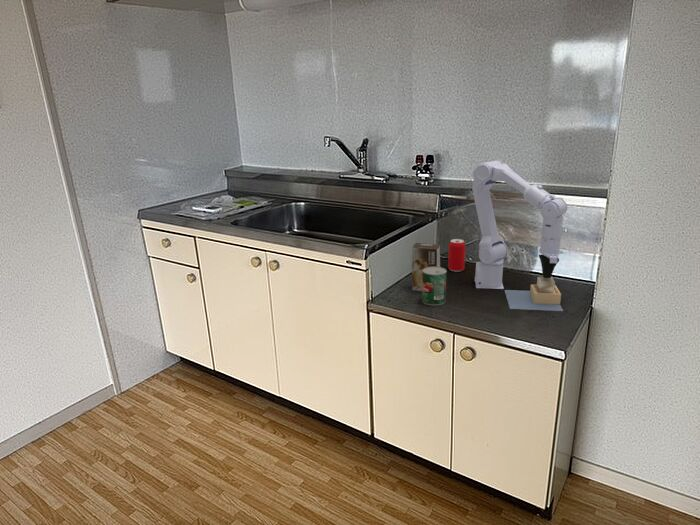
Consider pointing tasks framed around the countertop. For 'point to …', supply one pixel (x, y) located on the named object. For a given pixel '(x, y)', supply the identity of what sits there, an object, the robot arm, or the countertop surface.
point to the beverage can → (456, 255)
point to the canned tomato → (434, 286)
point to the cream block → (545, 285)
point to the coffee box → (423, 261)
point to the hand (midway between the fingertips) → (546, 277)
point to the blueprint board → (527, 301)
